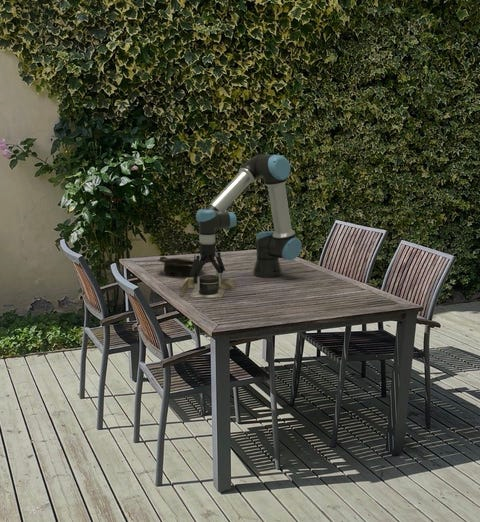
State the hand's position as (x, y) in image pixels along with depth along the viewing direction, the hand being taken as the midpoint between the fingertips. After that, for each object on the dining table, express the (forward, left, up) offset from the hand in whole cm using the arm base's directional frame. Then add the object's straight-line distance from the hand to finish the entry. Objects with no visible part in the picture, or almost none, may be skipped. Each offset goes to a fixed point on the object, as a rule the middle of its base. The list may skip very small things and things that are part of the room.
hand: (207, 288), depth 351 cm
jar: (0, 0, -3) cm, 3 cm away
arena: (0, -2, -3) cm, 3 cm away
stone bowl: (+19, -43, -3) cm, 47 cm away
